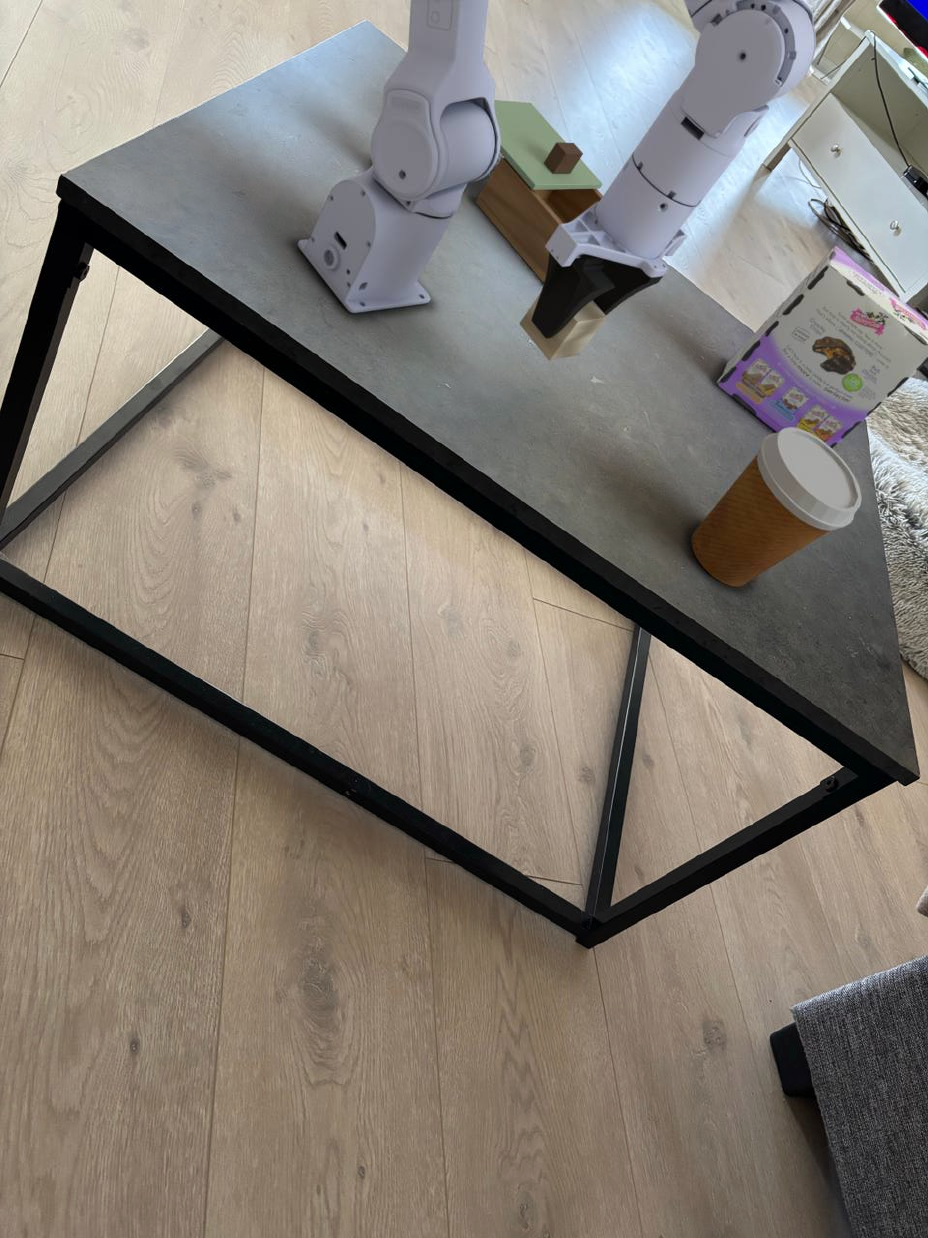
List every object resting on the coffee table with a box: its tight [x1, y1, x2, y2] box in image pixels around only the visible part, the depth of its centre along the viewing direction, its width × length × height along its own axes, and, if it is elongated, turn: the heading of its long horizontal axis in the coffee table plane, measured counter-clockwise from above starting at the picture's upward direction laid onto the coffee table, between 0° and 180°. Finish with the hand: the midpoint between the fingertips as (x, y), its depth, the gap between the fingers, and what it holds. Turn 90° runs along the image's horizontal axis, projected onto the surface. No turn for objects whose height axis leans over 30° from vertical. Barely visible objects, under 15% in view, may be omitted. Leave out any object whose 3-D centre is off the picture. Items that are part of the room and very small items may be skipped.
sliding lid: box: [494, 99, 604, 190], centre depth 98 cm, size 12×13×3 cm
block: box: [519, 292, 608, 362], centre depth 75 cm, size 4×4×4 cm
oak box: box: [475, 156, 604, 284], centre depth 99 cm, size 12×13×5 cm
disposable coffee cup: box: [691, 427, 863, 587], centre depth 80 cm, size 10×10×12 cm
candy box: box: [716, 245, 928, 450], centre depth 99 cm, size 14×6×16 cm, turn 65°
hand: (558, 325), depth 76 cm, fingers closed on block, 4 cm apart
